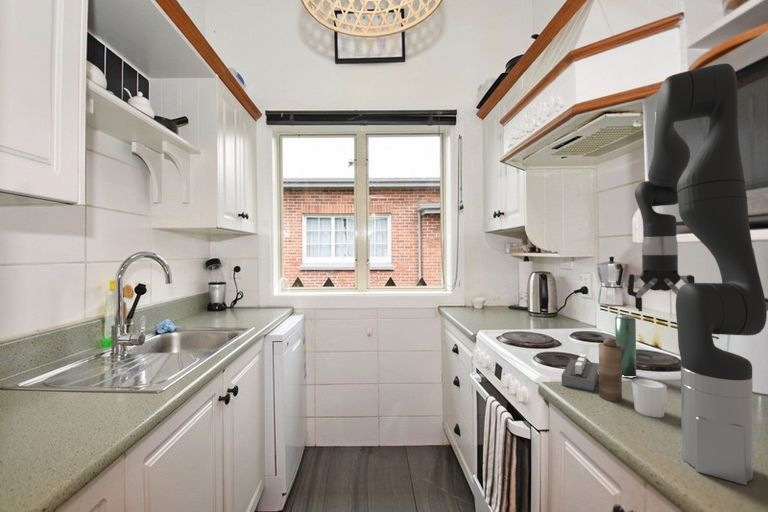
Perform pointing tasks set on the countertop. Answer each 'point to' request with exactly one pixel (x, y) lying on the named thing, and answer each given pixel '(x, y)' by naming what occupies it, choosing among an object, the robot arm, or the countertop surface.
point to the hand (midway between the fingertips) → (659, 312)
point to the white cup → (649, 397)
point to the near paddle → (578, 368)
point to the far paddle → (584, 357)
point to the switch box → (581, 376)
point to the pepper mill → (610, 371)
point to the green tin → (626, 342)
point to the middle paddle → (581, 361)
